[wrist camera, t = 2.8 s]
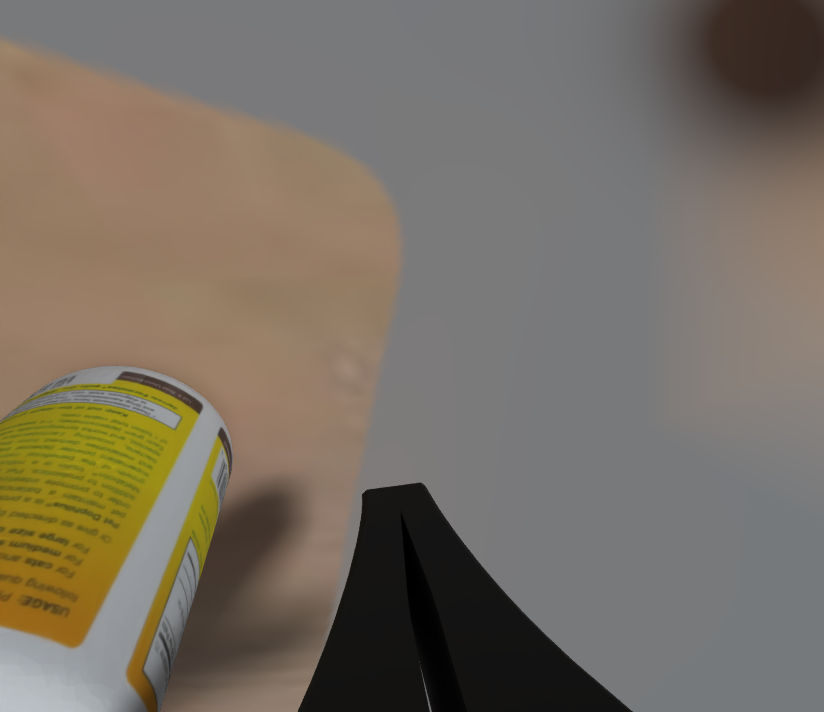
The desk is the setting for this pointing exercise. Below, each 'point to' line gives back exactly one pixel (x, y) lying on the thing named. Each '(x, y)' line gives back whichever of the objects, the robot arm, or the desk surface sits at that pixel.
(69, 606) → the supplement bottle
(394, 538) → the robot arm
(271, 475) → the desk surface
